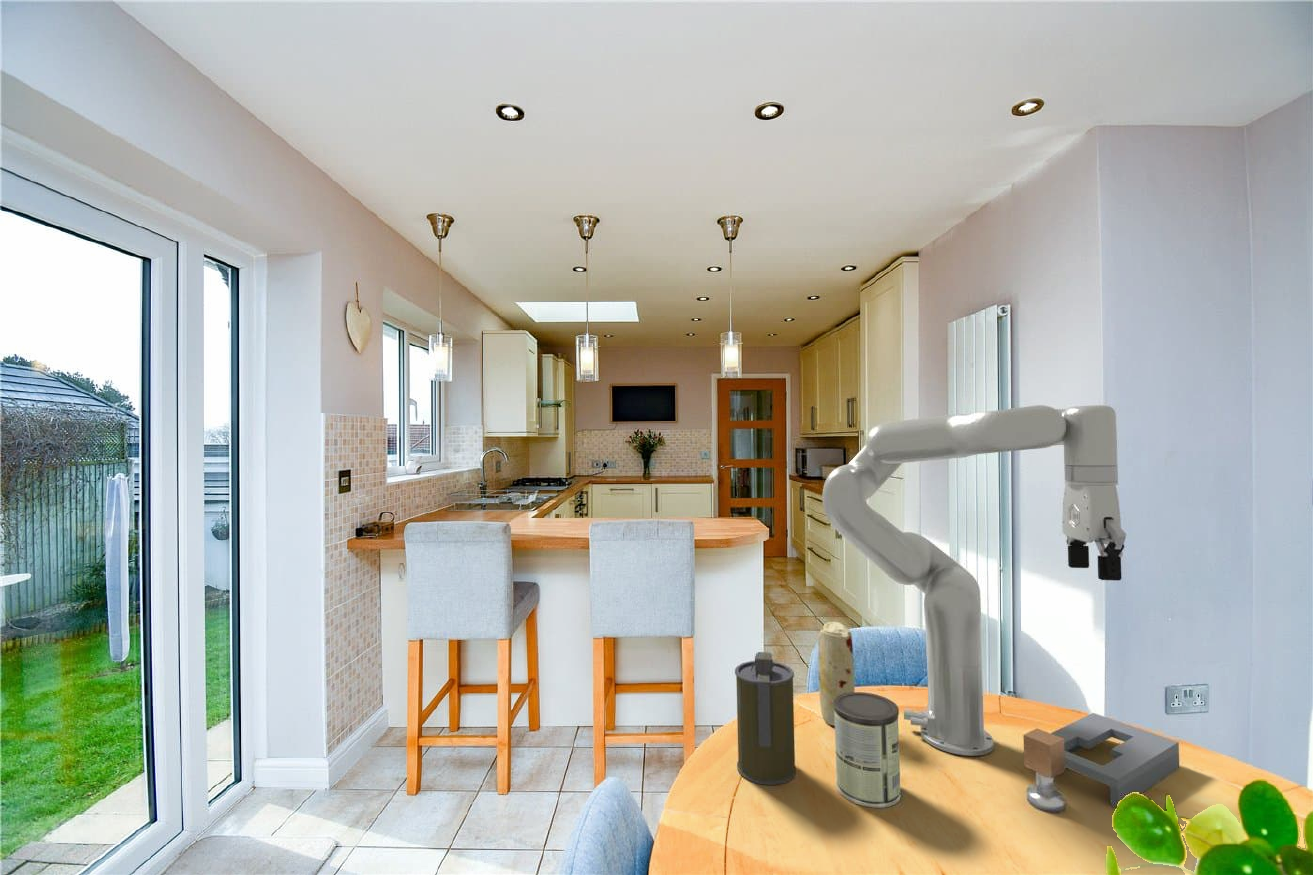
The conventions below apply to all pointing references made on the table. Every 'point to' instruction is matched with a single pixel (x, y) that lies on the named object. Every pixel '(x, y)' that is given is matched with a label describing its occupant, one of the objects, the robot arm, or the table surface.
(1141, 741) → the keyhole board
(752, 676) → the canister
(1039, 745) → the peg
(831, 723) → the food model
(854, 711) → the coffee can
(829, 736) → the table surface
